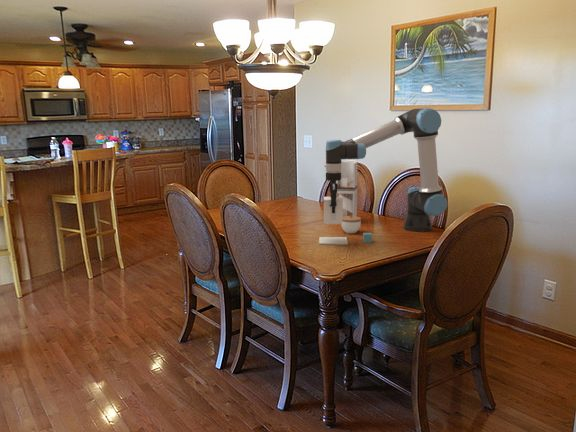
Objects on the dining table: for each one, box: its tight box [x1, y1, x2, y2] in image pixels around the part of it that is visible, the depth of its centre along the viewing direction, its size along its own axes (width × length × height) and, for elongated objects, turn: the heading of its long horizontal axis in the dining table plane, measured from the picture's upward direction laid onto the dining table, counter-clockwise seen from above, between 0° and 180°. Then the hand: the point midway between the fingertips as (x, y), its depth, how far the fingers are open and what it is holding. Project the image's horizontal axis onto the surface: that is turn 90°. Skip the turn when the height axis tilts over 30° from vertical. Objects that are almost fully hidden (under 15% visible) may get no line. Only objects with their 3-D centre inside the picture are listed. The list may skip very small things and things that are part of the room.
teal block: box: [362, 232, 373, 243], centre depth 234 cm, size 4×4×4 cm
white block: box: [323, 196, 343, 225], centre depth 232 cm, size 9×9×12 cm
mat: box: [318, 236, 349, 246], centre depth 235 cm, size 14×12×1 cm
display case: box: [336, 160, 358, 217], centre depth 274 cm, size 11×11×35 cm
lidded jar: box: [340, 215, 362, 234], centre depth 252 cm, size 11×11×9 cm
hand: (333, 217), depth 233 cm, fingers closed on white block, 9 cm apart
